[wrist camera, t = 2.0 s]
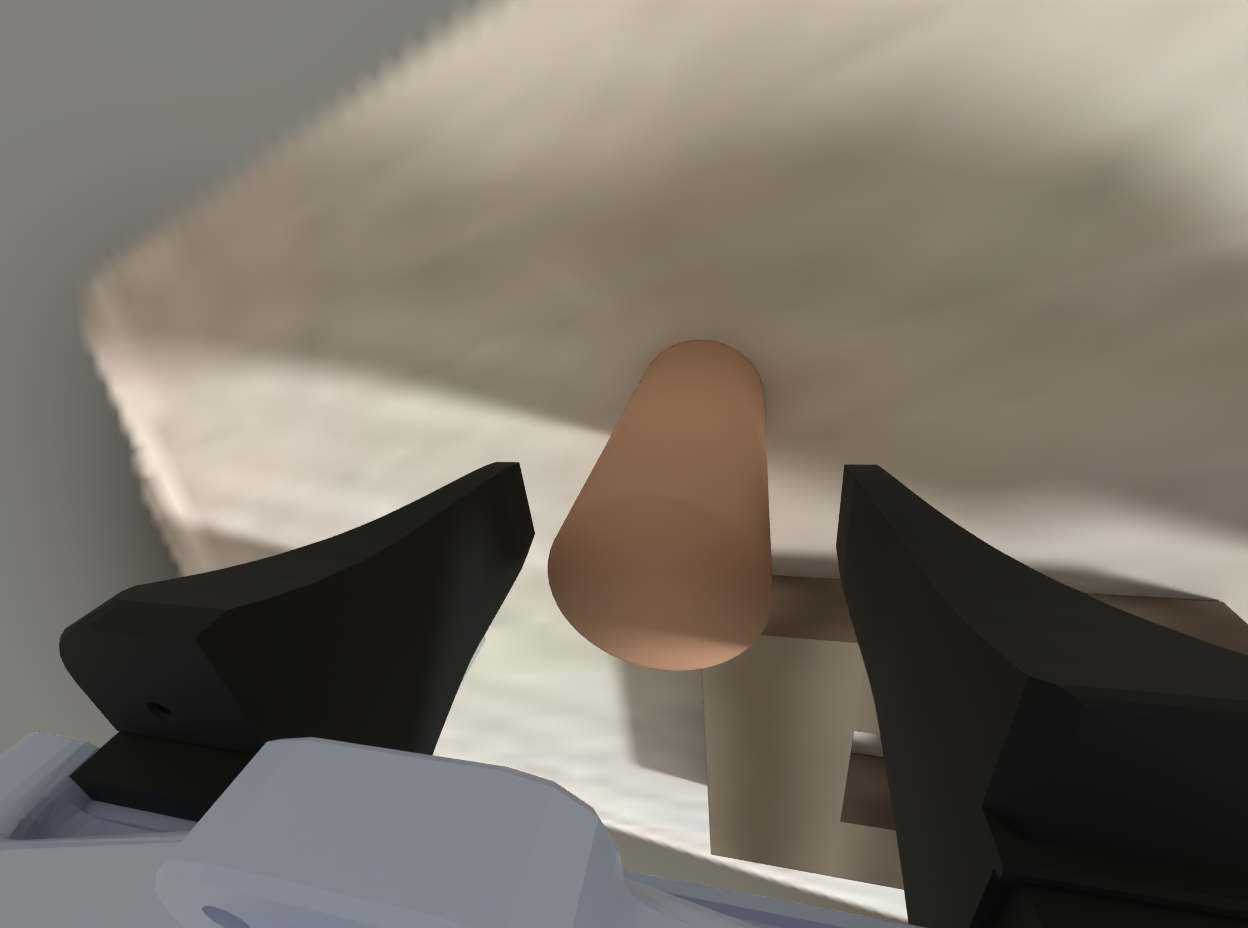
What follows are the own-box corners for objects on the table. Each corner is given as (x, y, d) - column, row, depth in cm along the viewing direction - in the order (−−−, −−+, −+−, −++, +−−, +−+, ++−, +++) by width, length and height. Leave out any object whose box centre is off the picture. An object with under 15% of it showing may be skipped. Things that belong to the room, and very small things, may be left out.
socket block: (1222, 601, 16) (1309, 681, 14) (1086, 845, 23) (1128, 930, 20) (706, 572, 20) (699, 629, 18) (715, 788, 27) (710, 854, 24)
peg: (765, 337, 16) (776, 496, 8) (763, 456, 17) (770, 680, 10) (633, 343, 16) (528, 491, 9) (644, 456, 18) (565, 659, 11)
